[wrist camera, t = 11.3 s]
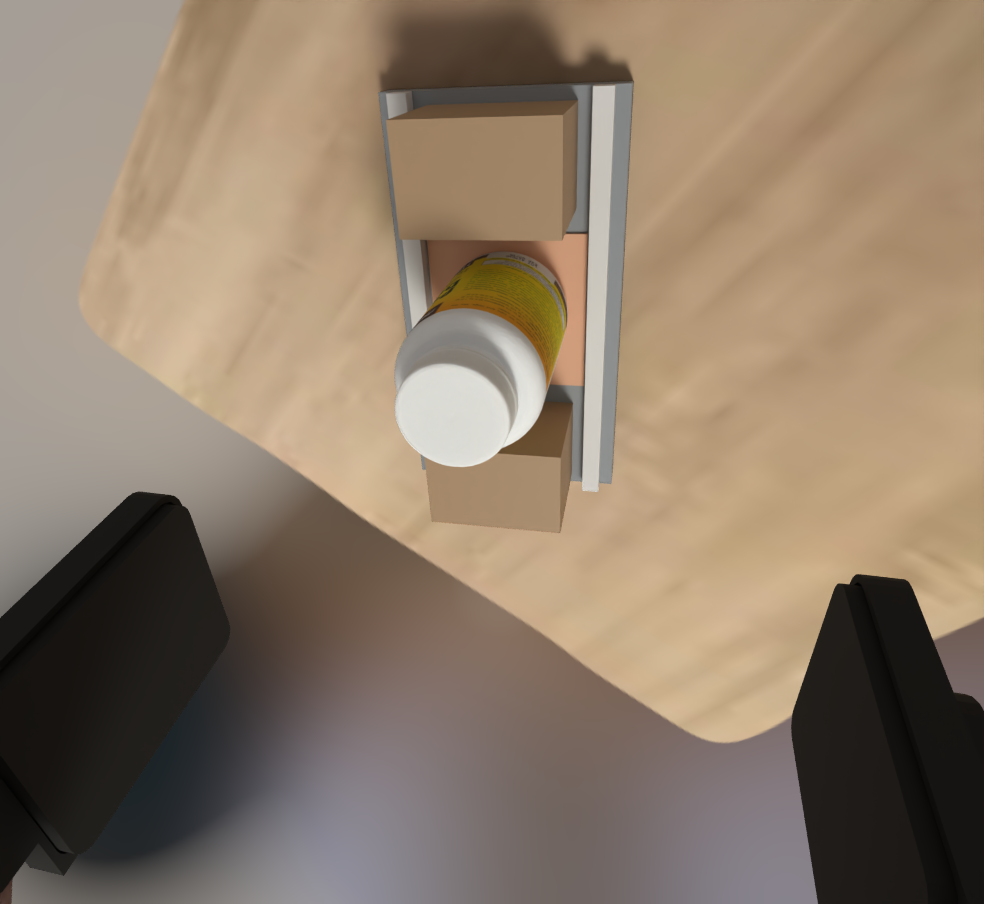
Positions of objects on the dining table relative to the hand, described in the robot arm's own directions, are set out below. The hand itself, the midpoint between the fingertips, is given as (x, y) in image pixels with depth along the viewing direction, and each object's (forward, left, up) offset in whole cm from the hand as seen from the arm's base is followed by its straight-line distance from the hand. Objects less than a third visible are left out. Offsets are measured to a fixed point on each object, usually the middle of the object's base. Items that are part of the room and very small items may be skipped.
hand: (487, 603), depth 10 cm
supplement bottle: (+4, -4, -22) cm, 23 cm away
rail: (+4, -4, -24) cm, 24 cm away
